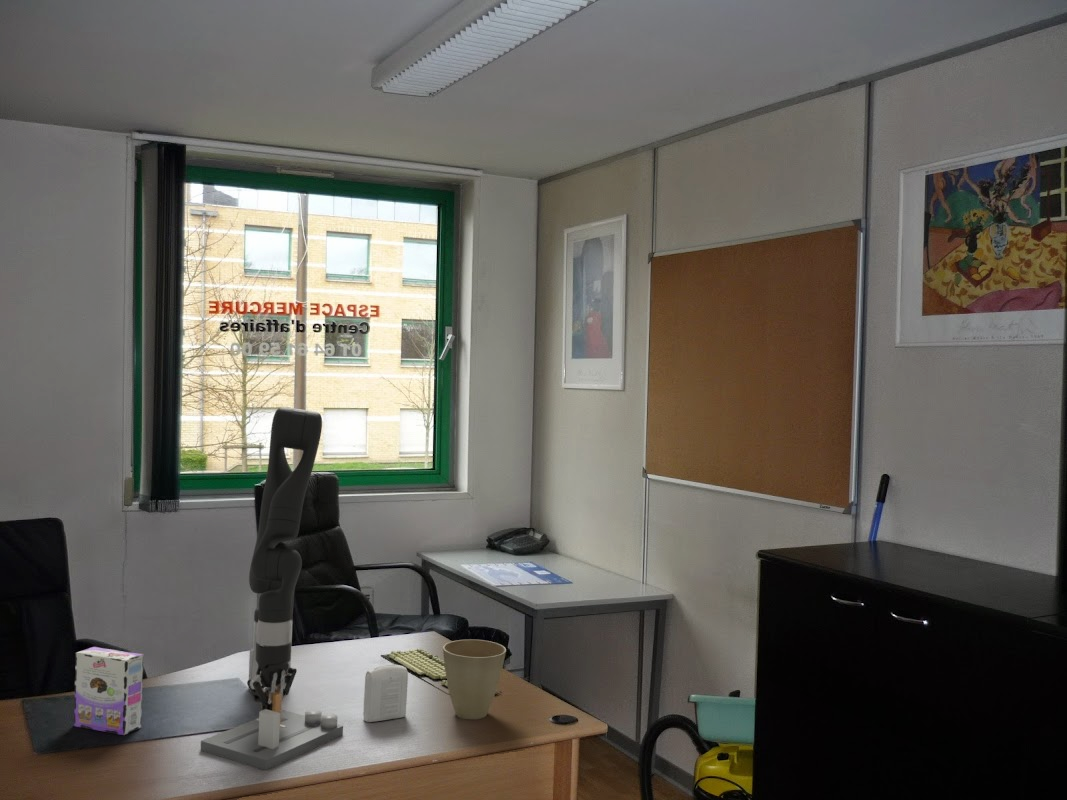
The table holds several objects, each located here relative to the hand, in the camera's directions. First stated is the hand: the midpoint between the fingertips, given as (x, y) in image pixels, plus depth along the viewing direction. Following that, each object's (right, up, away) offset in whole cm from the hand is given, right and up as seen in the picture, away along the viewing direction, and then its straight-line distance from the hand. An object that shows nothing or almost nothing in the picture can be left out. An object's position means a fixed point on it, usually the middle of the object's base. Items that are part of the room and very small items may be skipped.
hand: (270, 717), depth 224 cm
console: (+2, -4, -5) cm, 6 cm away
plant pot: (+43, -5, +19) cm, 47 cm away
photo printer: (+23, -4, +14) cm, 27 cm away
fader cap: (0, -1, 0) cm, 1 cm away
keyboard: (+33, -5, +49) cm, 59 cm away
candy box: (-36, -2, 0) cm, 36 cm away
